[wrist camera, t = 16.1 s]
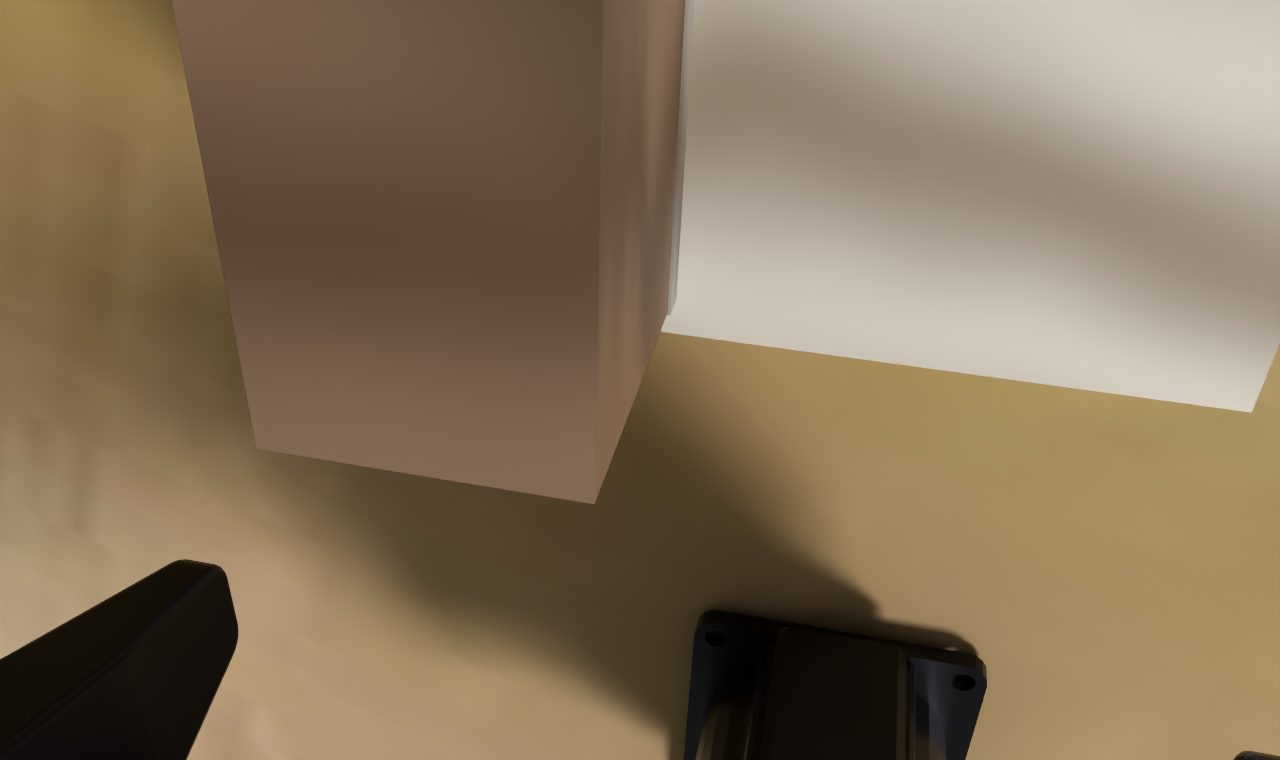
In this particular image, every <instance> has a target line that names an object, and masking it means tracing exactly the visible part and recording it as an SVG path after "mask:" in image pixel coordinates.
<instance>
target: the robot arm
mask: <svg viewBox="0 0 1280 760" xmlns="http://www.w3.org/2000/svg"><path fill="white" fill-rule="evenodd" d="M716 630H717V631H720V632H722V633H723V634H716V633H714V632H712V631H716ZM237 640H238V623H237V619H236V614H235V610H234V606H233V601H232V597H231V592H230V588H229V584H228V579H227V576H226V573H225V572H224V570H223V569H222V568H221V567H220V566H217V565H215V564H209V563H204V562H198V561H193V560H186V559H184V560H178V561H175V562H172V563H170V564H168V565H167V566H165V567H163V568H161V569H159V570H158V571H156V572H154V573H152V574H151V575H149V576H147V577H145V578H144V579H142V580H140V581H138V582H136V583H135V584H133V585H131V586H129V587H128V588H126V589H124V590H122V591H121V592H119V593H117V594H115V595H113V596H112V597H110V598H108V599H106V600H105V601H103V602H101V603H99V604H98V605H96V606H94V607H92V608H90V609H89V610H87V611H85V612H83V613H82V614H80V615H78V616H76V617H74V618H73V619H71V620H69V621H67V622H66V623H64V624H62V625H60V626H59V627H57V628H55V629H53V630H51V631H50V632H48V633H46V634H44V635H43V636H41V637H39V638H37V639H36V640H34V641H32V642H30V643H28V644H27V645H25V646H23V647H21V648H20V649H18V650H16V651H14V652H13V653H11V654H9V655H7V656H5V657H4V658H2V659H0V760H187V757H188V755H189V753H190V751H191V749H192V746H193V744H194V742H195V740H196V737H197V735H198V733H199V731H200V728H201V726H202V724H203V722H204V719H205V717H206V715H207V713H208V710H209V708H210V706H211V704H212V701H213V699H214V697H215V695H216V692H217V690H218V688H219V686H220V683H221V681H222V679H223V677H224V674H225V672H226V670H227V668H228V665H229V663H230V661H231V659H232V656H233V654H234V651H235V648H236V645H237ZM959 674H966V675H969V676H968V677H959V676H957V675H959ZM986 688H987V675H986V666H985V664H984V663H983V661H982V660H981V659H979V658H978V657H976V656H974V655H971V654H968V653H963V652H957V651H951V650H945V649H940V648H934V647H928V646H922V645H917V644H911V643H905V642H899V641H894V640H888V639H882V638H876V637H870V636H865V635H859V634H853V633H847V632H842V631H836V630H830V629H824V628H819V627H813V626H807V625H801V624H796V623H790V622H784V621H778V620H773V619H767V618H761V617H755V616H750V615H744V614H738V613H732V612H727V611H721V610H711V611H707V612H704V613H703V614H702V615H701V616H700V617H699V619H698V622H697V626H696V630H695V634H694V645H693V657H692V669H691V681H690V693H689V705H688V717H687V728H686V740H685V752H684V760H965V759H966V755H967V752H968V749H969V745H970V742H971V738H972V735H973V732H974V728H975V725H976V722H977V718H978V715H979V711H980V708H981V705H982V701H983V698H984V695H985V691H986ZM1234 760H1280V756H1276V755H1270V754H1264V753H1259V752H1253V751H1243V752H1241V753H1239V754H1238V755H1237V756H1236V757H1235V759H1234Z"/></svg>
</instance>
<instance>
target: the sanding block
mask: <svg viewBox="0 0 1280 760" xmlns="http://www.w3.org/2000/svg"><path fill="white" fill-rule="evenodd" d="M171 1H172V6H173V11H174V17H175V22H176V27H177V32H178V38H179V43H180V48H181V53H182V59H183V64H184V69H185V75H186V80H187V85H188V90H189V96H190V101H191V106H192V111H193V117H194V122H195V127H196V133H197V138H198V143H199V148H200V154H201V159H202V164H203V169H204V175H205V180H206V185H207V190H208V196H209V201H210V206H211V212H212V217H213V222H214V227H215V233H216V238H217V243H218V248H219V254H220V259H221V264H222V269H223V275H224V280H225V285H226V291H227V296H228V301H229V306H230V312H231V317H232V322H233V327H234V333H235V338H236V343H237V348H238V354H239V359H240V364H241V370H242V375H243V380H244V385H245V391H246V396H247V401H248V406H249V412H250V417H251V422H252V428H253V433H254V438H255V443H256V449H261V450H267V451H273V452H279V453H285V454H291V455H297V456H303V457H309V458H316V459H322V460H328V461H334V462H340V463H346V464H352V465H358V466H364V467H370V468H377V469H383V470H389V471H395V472H401V473H407V474H413V475H419V476H425V477H431V478H437V479H444V480H450V481H456V482H462V483H468V484H474V485H480V486H486V487H492V488H498V489H504V490H511V491H517V492H523V493H529V494H535V495H541V496H547V497H553V498H559V499H565V500H571V501H578V502H584V503H590V504H595V502H596V499H597V497H598V494H599V491H600V489H601V486H602V484H603V481H604V478H605V476H606V473H607V470H608V468H609V465H610V463H611V460H612V457H613V455H614V452H615V449H616V447H617V444H618V442H619V439H620V436H621V434H622V431H623V428H624V426H625V423H626V421H627V418H628V415H629V413H630V410H631V407H632V405H633V402H634V400H635V397H636V394H637V392H638V389H639V387H640V384H641V381H642V379H643V376H644V373H645V371H646V368H647V366H648V363H649V360H650V358H651V355H652V352H653V350H654V347H655V345H656V342H657V339H658V337H659V334H660V331H661V329H662V326H663V324H664V321H665V318H666V316H667V315H671V312H672V310H673V307H674V304H675V302H676V297H677V281H678V265H679V248H680V232H681V216H682V199H683V183H684V167H685V151H686V134H687V118H688V102H689V86H690V69H691V53H692V37H693V21H694V4H695V0H171Z"/></svg>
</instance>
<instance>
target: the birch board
mask: <svg viewBox="0 0 1280 760" xmlns="http://www.w3.org/2000/svg"><path fill="white" fill-rule="evenodd" d="M660 332H666V333H674V334H681V335H688V336H696V337H703V338H710V339H718V340H725V341H732V342H740V343H747V344H754V345H761V346H769V347H776V348H783V349H791V350H798V351H805V352H813V353H820V354H827V355H835V356H842V357H849V358H857V359H864V360H871V361H879V362H886V363H893V364H901V365H908V366H915V367H923V368H930V369H937V370H945V371H952V372H959V373H966V374H974V375H981V376H988V377H996V378H1003V379H1010V380H1018V381H1025V382H1032V383H1040V384H1047V385H1054V386H1062V387H1069V388H1076V389H1084V390H1091V391H1098V392H1106V393H1113V394H1120V395H1128V396H1135V397H1142V398H1150V399H1157V400H1164V401H1171V402H1179V403H1186V404H1193V405H1201V406H1208V407H1215V408H1223V409H1230V410H1237V411H1245V412H1252V410H1253V408H1254V405H1255V403H1256V400H1257V398H1258V395H1259V393H1260V391H1261V388H1262V386H1263V383H1264V381H1265V378H1266V376H1267V373H1268V371H1269V368H1270V366H1271V363H1272V361H1273V359H1274V356H1275V354H1276V351H1277V349H1278V346H1279V344H1280V0H695V4H694V21H693V37H692V53H691V69H690V86H689V102H688V118H687V134H686V151H685V167H684V183H683V199H682V216H681V232H680V248H679V265H678V281H677V297H676V302H675V304H674V307H673V310H672V312H671V315H667V316H666V318H665V321H664V324H663V326H662V329H661V331H660Z"/></svg>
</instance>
